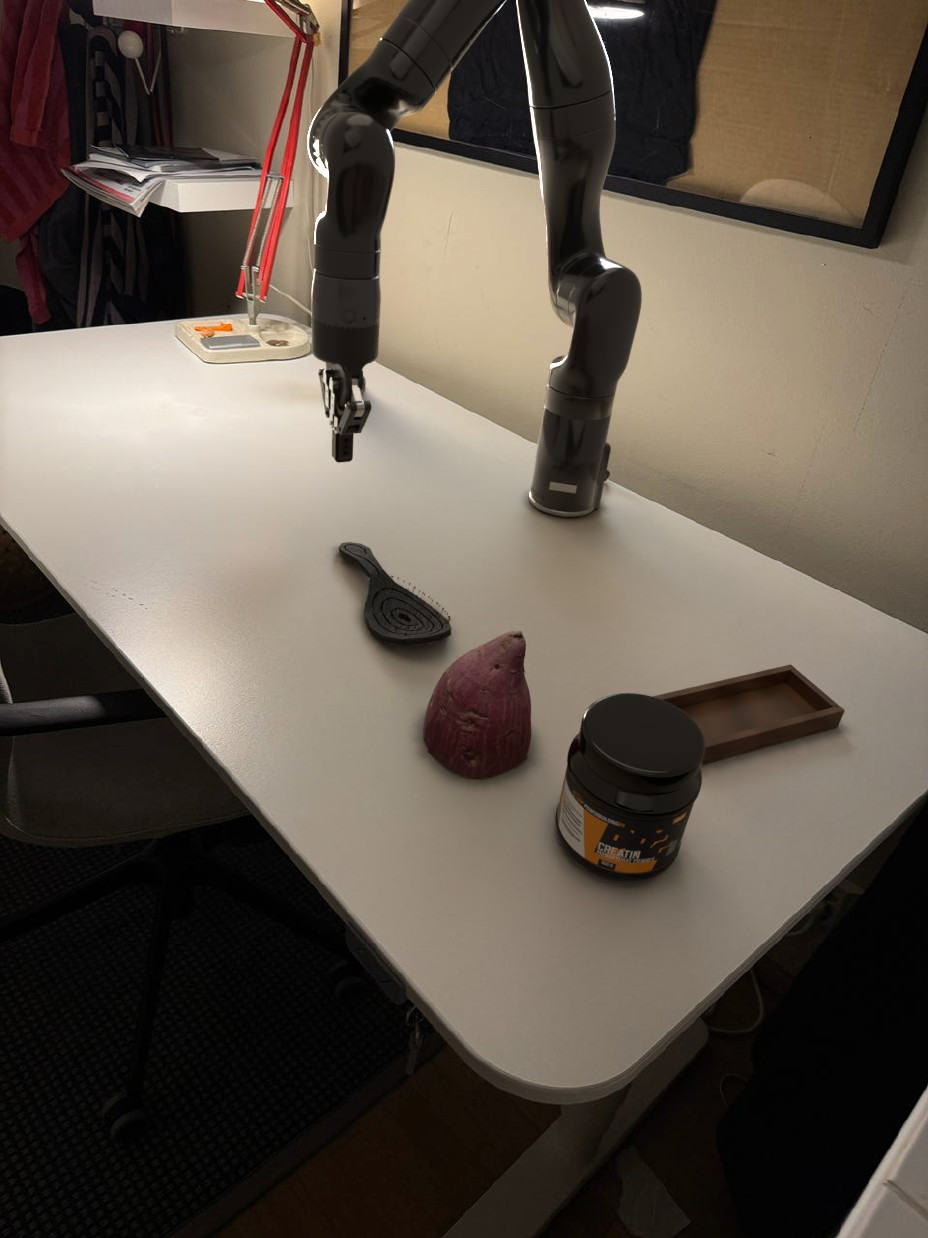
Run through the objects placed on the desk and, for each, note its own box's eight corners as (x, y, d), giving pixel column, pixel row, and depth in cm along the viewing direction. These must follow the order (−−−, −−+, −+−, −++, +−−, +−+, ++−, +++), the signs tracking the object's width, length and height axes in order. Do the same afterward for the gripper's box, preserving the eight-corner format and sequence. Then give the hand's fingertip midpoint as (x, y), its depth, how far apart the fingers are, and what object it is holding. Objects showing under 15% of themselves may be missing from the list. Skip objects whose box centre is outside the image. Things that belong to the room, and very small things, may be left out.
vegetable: (536, 758, 86) (606, 644, 78) (482, 809, 78) (554, 688, 70) (453, 693, 89) (513, 577, 81) (393, 736, 81) (452, 612, 73)
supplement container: (536, 861, 71) (559, 751, 65) (570, 778, 80) (594, 673, 73) (665, 908, 69) (702, 797, 62) (686, 817, 77) (721, 711, 70)
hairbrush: (376, 522, 111) (469, 620, 92) (376, 549, 112) (467, 650, 94) (312, 532, 107) (396, 636, 89) (313, 559, 109) (395, 667, 90)
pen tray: (784, 681, 95) (790, 663, 94) (837, 727, 90) (845, 710, 88) (646, 714, 88) (651, 696, 87) (694, 767, 83) (700, 749, 81)
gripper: (398, 331, 94) (389, 480, 104) (359, 297, 104) (354, 436, 114) (330, 333, 92) (328, 485, 101) (296, 298, 101) (297, 440, 111)
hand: (342, 459), depth 107 cm, fingers closed
